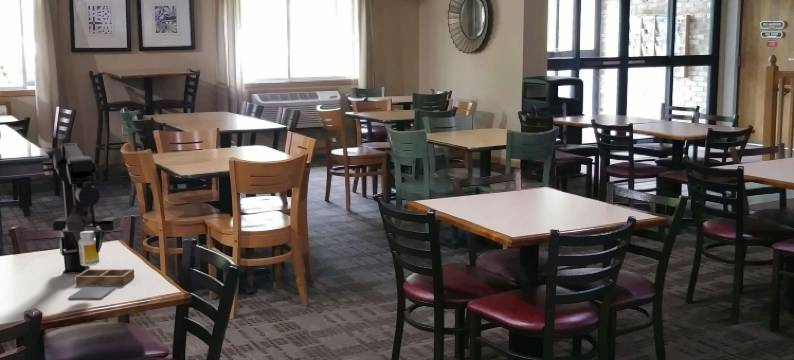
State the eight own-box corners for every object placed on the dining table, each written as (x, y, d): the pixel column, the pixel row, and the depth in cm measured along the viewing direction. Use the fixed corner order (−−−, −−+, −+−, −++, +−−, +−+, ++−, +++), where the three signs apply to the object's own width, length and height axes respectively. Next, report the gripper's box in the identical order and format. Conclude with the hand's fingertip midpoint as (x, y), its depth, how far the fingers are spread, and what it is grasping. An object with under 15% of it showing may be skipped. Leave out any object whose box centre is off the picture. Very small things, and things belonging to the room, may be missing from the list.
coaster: (68, 299, 253) (68, 297, 253) (83, 289, 263) (83, 287, 263) (101, 299, 252) (101, 297, 252) (115, 289, 262) (115, 287, 262)
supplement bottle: (103, 262, 258) (100, 230, 256) (91, 266, 253) (88, 234, 251) (88, 261, 259) (85, 229, 258) (76, 265, 254) (73, 233, 253)
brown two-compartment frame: (76, 285, 267) (75, 276, 267) (87, 277, 275) (87, 269, 275) (124, 285, 266) (123, 276, 265) (134, 277, 274) (133, 269, 273)
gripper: (39, 206, 246) (45, 259, 248) (102, 206, 244) (107, 259, 247) (58, 198, 257) (63, 249, 259) (119, 198, 255) (123, 249, 258)
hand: (88, 252), depth 255 cm, fingers closed on supplement bottle, 5 cm apart
